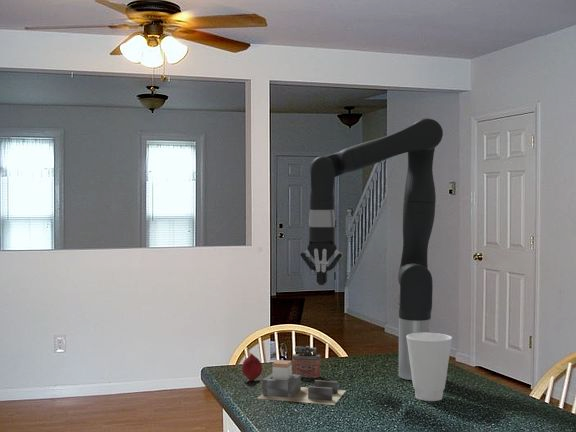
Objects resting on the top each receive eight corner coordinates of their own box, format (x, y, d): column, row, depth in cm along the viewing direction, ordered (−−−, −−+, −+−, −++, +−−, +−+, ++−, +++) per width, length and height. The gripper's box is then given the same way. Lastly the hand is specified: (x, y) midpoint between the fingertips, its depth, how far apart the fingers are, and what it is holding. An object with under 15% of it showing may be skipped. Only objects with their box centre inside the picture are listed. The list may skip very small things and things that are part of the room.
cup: (401, 401, 182) (402, 338, 181) (410, 389, 193) (410, 331, 192) (448, 405, 177) (449, 342, 177) (454, 393, 189) (455, 334, 188)
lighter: (320, 380, 203) (320, 345, 203) (320, 383, 200) (320, 348, 199) (292, 379, 204) (292, 345, 204) (291, 382, 200) (291, 347, 200)
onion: (265, 379, 204) (265, 351, 204) (257, 384, 198) (257, 355, 198) (246, 377, 206) (246, 350, 206) (238, 382, 200) (238, 354, 200)
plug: (291, 391, 185) (291, 360, 185) (287, 395, 181) (287, 364, 181) (277, 390, 186) (277, 359, 186) (272, 394, 182) (272, 363, 182)
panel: (346, 396, 186) (346, 375, 186) (334, 410, 173) (334, 388, 173) (273, 390, 192) (273, 370, 192) (256, 404, 178) (256, 382, 178)
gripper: (346, 225, 208) (346, 284, 208) (303, 224, 211) (303, 282, 212) (341, 226, 200) (341, 287, 201) (296, 225, 204) (296, 285, 204)
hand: (321, 284), depth 206 cm, fingers closed
